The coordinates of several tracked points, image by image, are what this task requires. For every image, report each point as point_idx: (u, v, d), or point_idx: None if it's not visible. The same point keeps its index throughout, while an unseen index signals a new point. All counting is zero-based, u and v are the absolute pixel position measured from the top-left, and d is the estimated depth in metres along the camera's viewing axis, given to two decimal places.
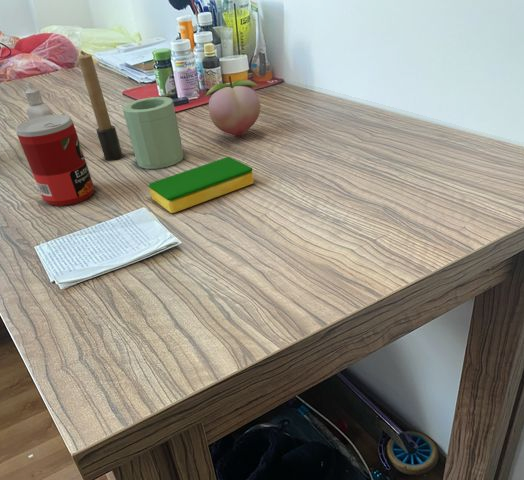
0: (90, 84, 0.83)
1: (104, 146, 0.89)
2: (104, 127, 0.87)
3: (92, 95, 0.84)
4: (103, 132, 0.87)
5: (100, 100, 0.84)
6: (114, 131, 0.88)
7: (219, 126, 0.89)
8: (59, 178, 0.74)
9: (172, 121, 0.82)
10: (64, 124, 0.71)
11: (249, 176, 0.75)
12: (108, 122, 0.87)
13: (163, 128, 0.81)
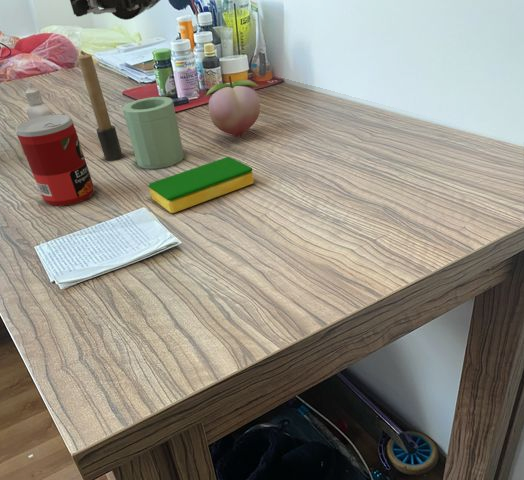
0: (90, 84, 0.83)
1: (104, 146, 0.89)
2: (104, 127, 0.87)
3: (92, 95, 0.84)
4: (103, 132, 0.87)
5: (100, 100, 0.84)
6: (114, 131, 0.88)
7: (219, 126, 0.89)
8: (59, 178, 0.74)
9: (172, 121, 0.82)
10: (64, 124, 0.71)
11: (249, 176, 0.75)
12: (108, 122, 0.87)
13: (163, 128, 0.81)
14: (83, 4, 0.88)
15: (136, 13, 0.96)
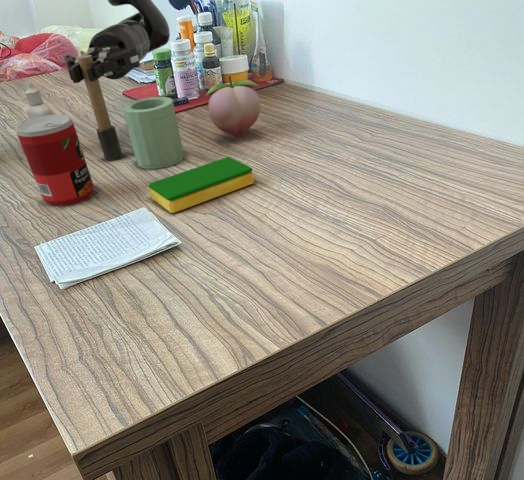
0: (90, 84, 0.83)
1: (104, 146, 0.89)
2: (104, 127, 0.87)
3: (92, 95, 0.84)
4: (103, 132, 0.87)
5: (100, 100, 0.84)
6: (114, 131, 0.88)
7: (219, 126, 0.89)
8: (59, 178, 0.74)
9: (172, 121, 0.82)
10: (64, 124, 0.71)
11: (249, 176, 0.75)
12: (108, 122, 0.87)
13: (163, 128, 0.81)
14: None
15: (124, 73, 0.91)
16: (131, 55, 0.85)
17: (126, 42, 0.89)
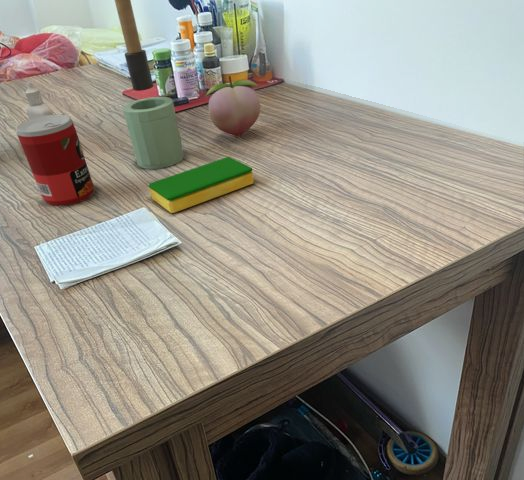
0: None
1: (133, 73, 0.78)
2: (134, 50, 0.76)
3: (121, 10, 0.73)
4: (133, 55, 0.76)
5: (130, 16, 0.74)
6: (145, 55, 0.77)
7: (219, 126, 0.89)
8: (59, 178, 0.74)
9: (172, 121, 0.82)
10: (64, 124, 0.71)
11: (249, 176, 0.75)
12: (138, 44, 0.76)
13: (163, 128, 0.81)
14: None
15: None
16: None
17: None
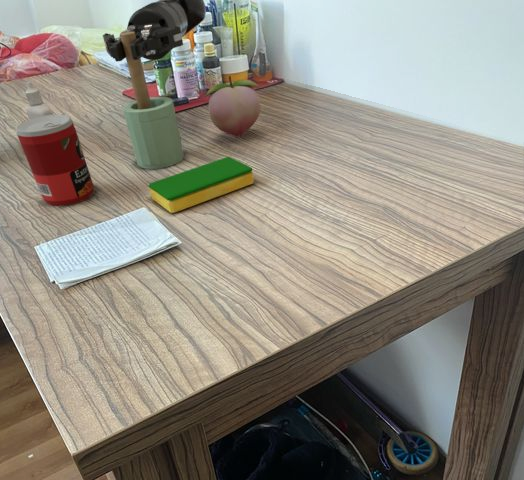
0: (132, 63, 0.78)
1: None
2: None
3: (134, 75, 0.79)
4: None
5: (142, 80, 0.80)
6: None
7: (219, 126, 0.89)
8: (59, 178, 0.74)
9: (172, 121, 0.82)
10: (64, 124, 0.71)
11: (249, 176, 0.75)
12: (149, 104, 0.82)
13: (163, 128, 0.81)
14: None
15: (165, 54, 0.86)
16: (175, 33, 0.80)
17: (167, 20, 0.84)
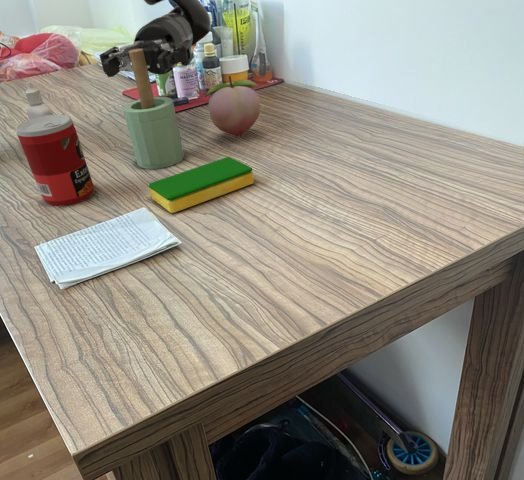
0: (140, 79, 0.79)
1: None
2: None
3: (142, 91, 0.80)
4: None
5: (150, 96, 0.81)
6: None
7: (219, 126, 0.89)
8: (59, 178, 0.74)
9: (172, 121, 0.82)
10: (64, 124, 0.71)
11: (249, 176, 0.75)
12: None
13: (163, 128, 0.81)
14: (115, 63, 0.79)
15: (171, 68, 0.87)
16: (190, 45, 0.82)
17: (174, 35, 0.85)
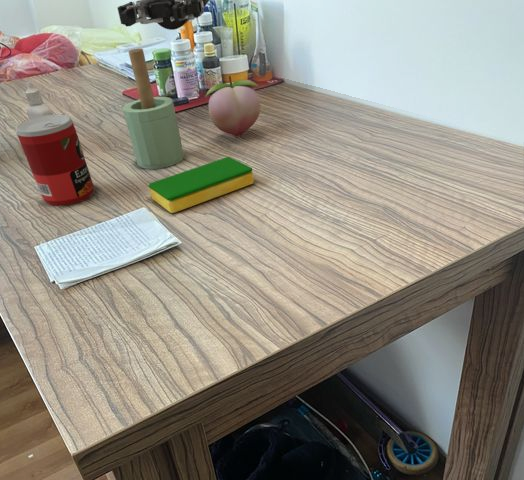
0: (140, 79, 0.79)
1: None
2: None
3: (142, 91, 0.80)
4: None
5: (150, 96, 0.81)
6: None
7: (219, 126, 0.89)
8: (59, 178, 0.74)
9: (172, 121, 0.82)
10: (64, 124, 0.71)
11: (249, 176, 0.75)
12: None
13: (163, 128, 0.81)
14: (132, 14, 0.86)
15: (182, 23, 0.94)
16: (201, 0, 0.89)
17: None
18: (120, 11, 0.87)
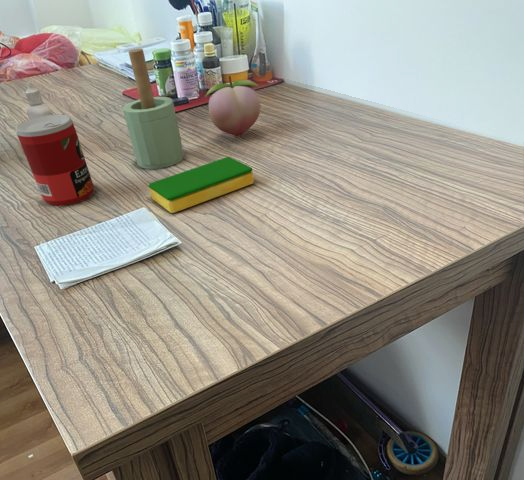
0: (140, 79, 0.79)
1: None
2: None
3: (142, 91, 0.80)
4: None
5: (150, 96, 0.81)
6: None
7: (219, 126, 0.89)
8: (59, 178, 0.74)
9: (172, 121, 0.82)
10: (64, 124, 0.71)
11: (249, 176, 0.75)
12: None
13: (163, 128, 0.81)
14: None
15: None
16: None
17: None
18: None
